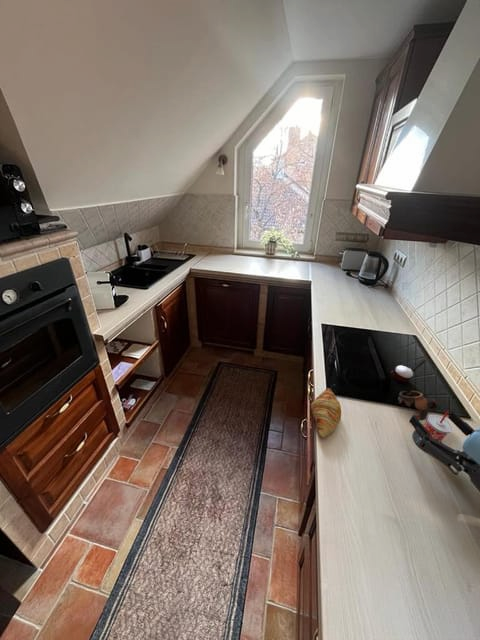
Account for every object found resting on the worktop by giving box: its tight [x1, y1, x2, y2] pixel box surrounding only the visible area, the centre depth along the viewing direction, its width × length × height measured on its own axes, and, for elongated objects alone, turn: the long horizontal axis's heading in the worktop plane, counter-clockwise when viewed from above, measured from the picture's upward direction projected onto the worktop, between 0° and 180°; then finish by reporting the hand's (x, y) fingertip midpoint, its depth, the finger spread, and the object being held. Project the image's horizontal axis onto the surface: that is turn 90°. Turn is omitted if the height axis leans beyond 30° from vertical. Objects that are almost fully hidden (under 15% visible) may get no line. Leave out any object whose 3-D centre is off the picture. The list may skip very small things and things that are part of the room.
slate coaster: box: [412, 430, 443, 454], centre depth 81 cm, size 9×9×1 cm
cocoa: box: [390, 357, 428, 383], centre depth 102 cm, size 10×6×12 cm, turn 54°
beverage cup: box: [420, 410, 453, 442], centre depth 77 cm, size 6×6×14 cm
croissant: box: [310, 387, 342, 439], centre depth 88 cm, size 21×10×8 cm, turn 159°
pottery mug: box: [397, 390, 439, 421], centre depth 91 cm, size 12×10×8 cm
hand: (431, 416), depth 79 cm, fingers open, 13 cm apart
